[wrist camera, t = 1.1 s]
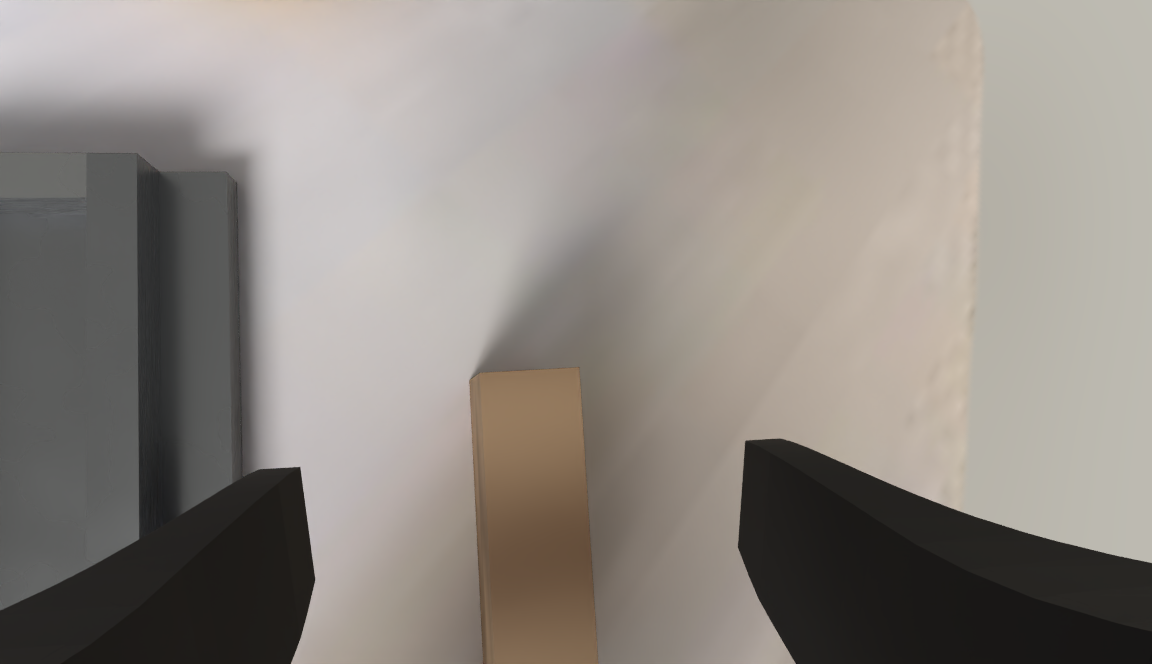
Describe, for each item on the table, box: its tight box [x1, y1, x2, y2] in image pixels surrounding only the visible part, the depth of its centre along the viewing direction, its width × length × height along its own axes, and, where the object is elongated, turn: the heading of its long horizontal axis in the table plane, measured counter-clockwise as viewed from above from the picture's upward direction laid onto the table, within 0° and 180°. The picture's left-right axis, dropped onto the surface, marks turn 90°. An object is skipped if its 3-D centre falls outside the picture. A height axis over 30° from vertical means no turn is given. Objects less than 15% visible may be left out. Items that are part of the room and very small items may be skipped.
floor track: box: [0, 153, 242, 610], centre depth 18 cm, size 18×10×2 cm, turn 4°
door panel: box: [469, 367, 598, 664], centre depth 19 cm, size 9×2×6 cm, turn 4°
